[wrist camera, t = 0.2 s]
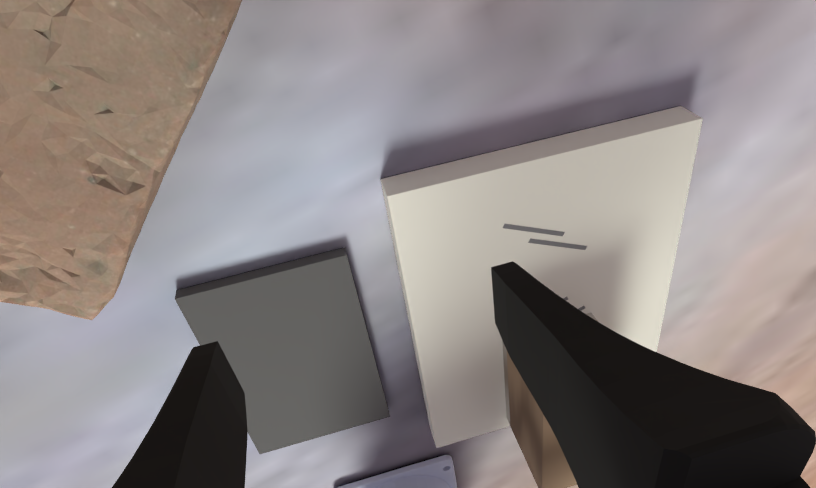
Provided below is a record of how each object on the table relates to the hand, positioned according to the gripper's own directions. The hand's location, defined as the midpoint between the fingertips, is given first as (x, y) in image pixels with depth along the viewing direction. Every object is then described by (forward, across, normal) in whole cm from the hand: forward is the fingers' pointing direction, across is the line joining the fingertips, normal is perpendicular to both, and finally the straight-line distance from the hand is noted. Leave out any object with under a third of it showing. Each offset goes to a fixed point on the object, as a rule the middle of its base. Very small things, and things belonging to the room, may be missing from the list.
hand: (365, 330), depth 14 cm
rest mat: (+10, +4, +10) cm, 15 cm away
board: (+10, -9, +10) cm, 17 cm away
